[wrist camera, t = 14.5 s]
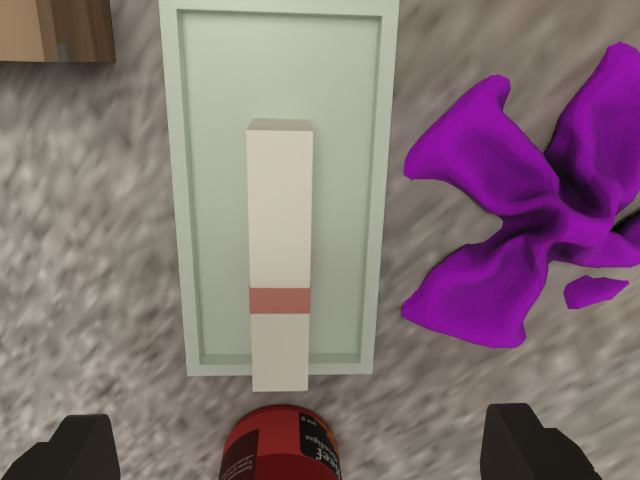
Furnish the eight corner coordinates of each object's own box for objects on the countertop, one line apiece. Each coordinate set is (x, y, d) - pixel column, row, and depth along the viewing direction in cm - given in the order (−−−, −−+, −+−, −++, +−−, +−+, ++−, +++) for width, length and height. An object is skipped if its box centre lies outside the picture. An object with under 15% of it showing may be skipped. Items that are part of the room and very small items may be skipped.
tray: (392, 2, 26) (399, -2, 24) (368, 358, 33) (372, 374, 31) (166, -6, 25) (157, -11, 23) (192, 359, 32) (187, 375, 31)
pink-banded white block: (310, 119, 27) (314, 131, 22) (305, 342, 32) (308, 392, 27) (252, 118, 27) (245, 130, 22) (257, 342, 32) (251, 392, 27)
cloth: (413, 371, 34) (438, 434, 29) (352, 105, 28) (368, 116, 22) (732, 290, 34) (823, 337, 28) (742, -2, 27) (864, -20, 22)
